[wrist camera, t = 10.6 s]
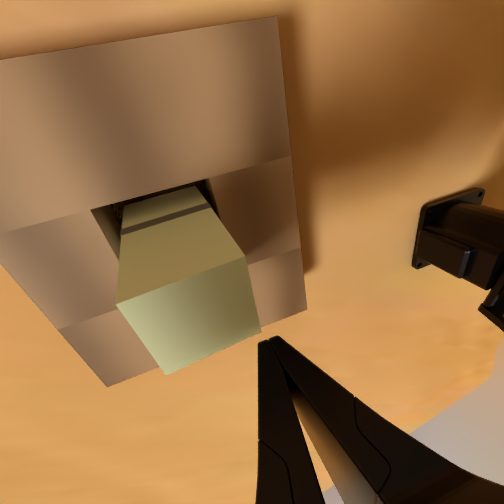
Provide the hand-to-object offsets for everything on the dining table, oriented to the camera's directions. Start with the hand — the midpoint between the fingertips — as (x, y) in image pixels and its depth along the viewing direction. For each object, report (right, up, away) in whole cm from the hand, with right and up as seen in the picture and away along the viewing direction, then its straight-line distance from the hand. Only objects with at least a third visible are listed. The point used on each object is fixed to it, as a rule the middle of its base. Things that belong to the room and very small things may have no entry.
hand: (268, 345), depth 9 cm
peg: (-5, +5, +5) cm, 9 cm away
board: (-6, +5, +6) cm, 10 cm away
